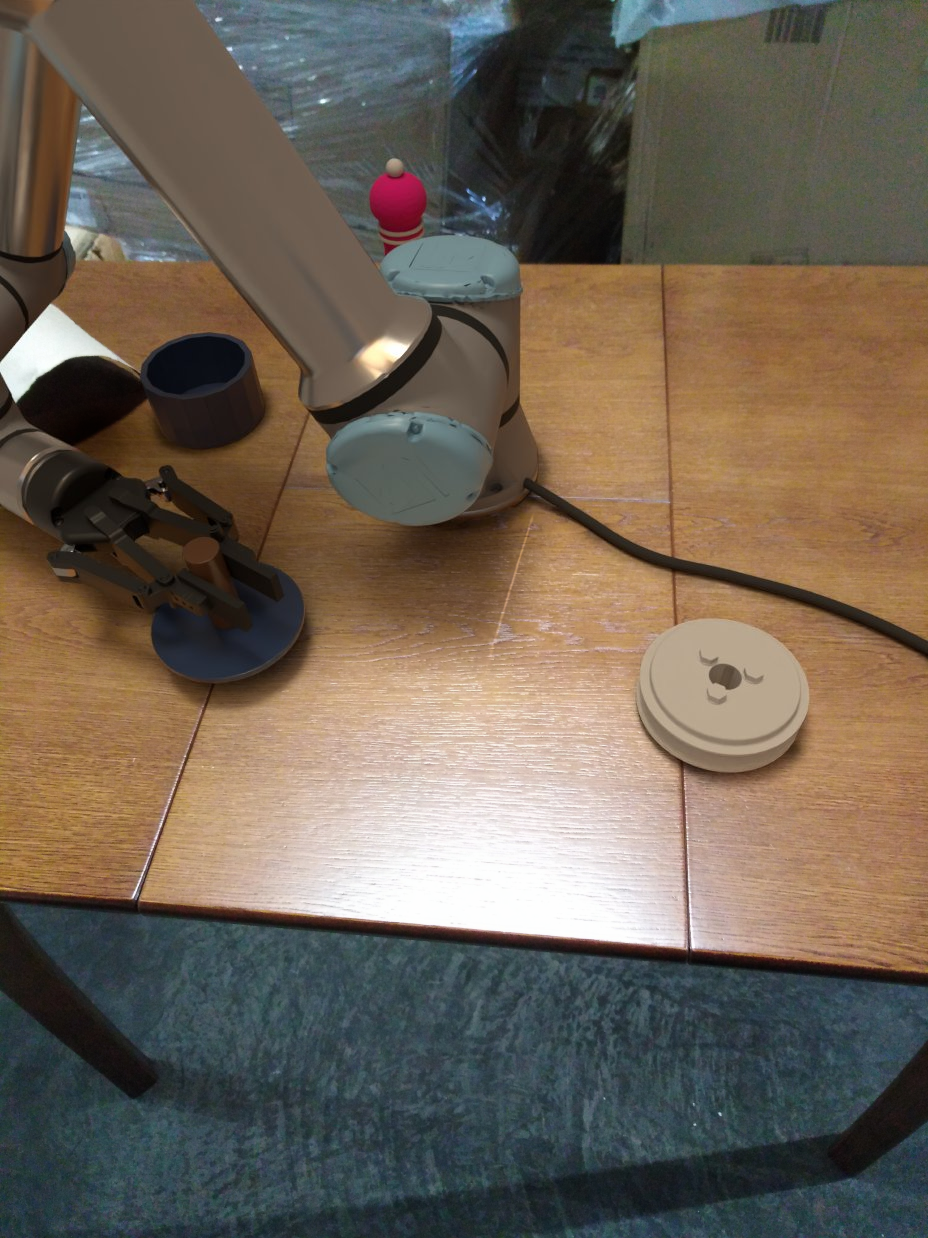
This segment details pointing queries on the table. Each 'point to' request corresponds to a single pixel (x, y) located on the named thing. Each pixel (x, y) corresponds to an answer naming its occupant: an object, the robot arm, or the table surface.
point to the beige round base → (721, 695)
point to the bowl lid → (226, 624)
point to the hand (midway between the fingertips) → (261, 602)
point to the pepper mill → (398, 206)
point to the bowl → (203, 390)
